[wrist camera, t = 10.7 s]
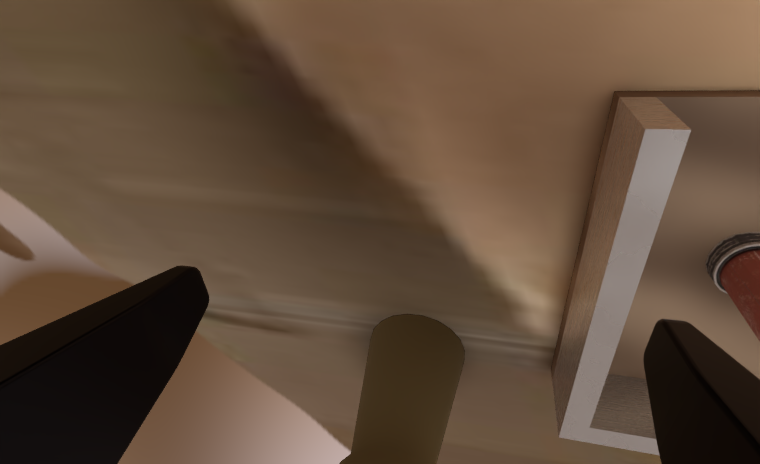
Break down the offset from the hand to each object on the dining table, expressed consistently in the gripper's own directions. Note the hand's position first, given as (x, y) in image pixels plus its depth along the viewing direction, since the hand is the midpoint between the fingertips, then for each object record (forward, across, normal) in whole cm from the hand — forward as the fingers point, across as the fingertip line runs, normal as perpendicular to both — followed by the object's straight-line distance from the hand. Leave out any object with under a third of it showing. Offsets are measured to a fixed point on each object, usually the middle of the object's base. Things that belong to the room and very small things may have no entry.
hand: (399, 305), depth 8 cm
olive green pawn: (+12, +2, +15) cm, 19 cm away
